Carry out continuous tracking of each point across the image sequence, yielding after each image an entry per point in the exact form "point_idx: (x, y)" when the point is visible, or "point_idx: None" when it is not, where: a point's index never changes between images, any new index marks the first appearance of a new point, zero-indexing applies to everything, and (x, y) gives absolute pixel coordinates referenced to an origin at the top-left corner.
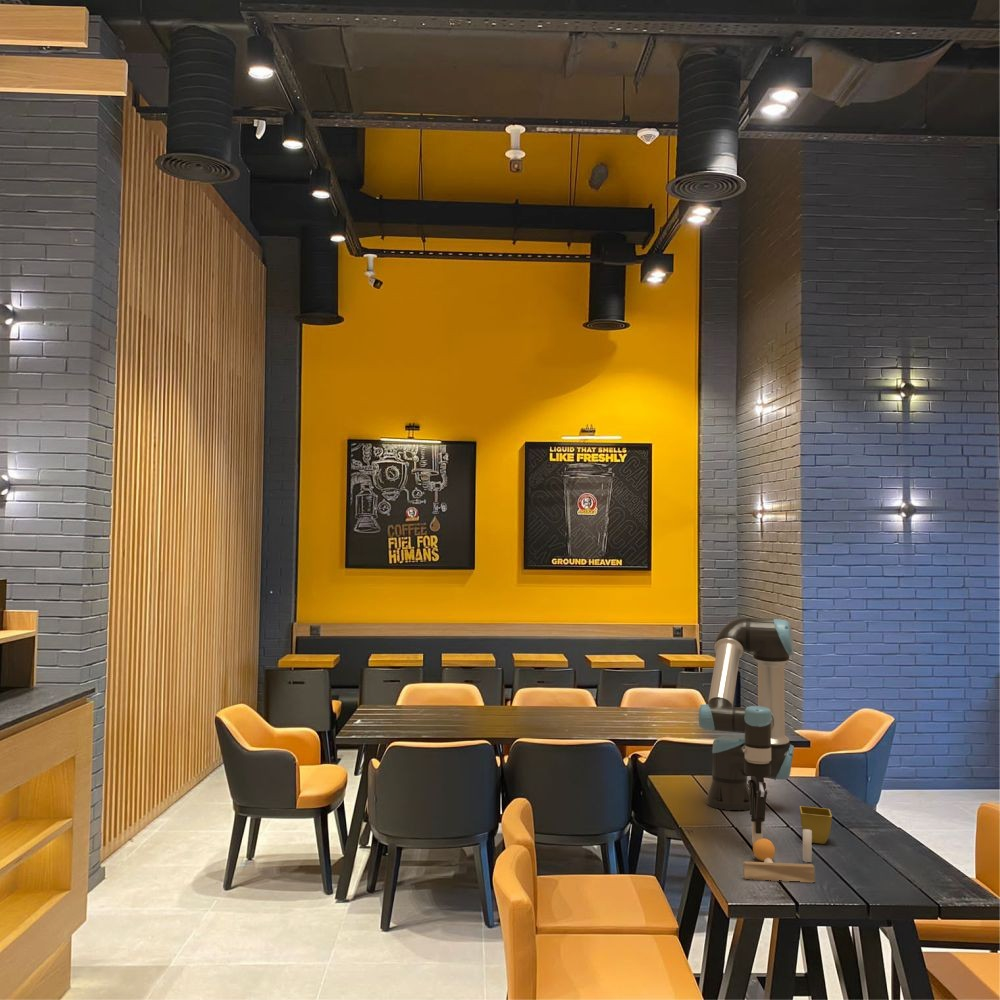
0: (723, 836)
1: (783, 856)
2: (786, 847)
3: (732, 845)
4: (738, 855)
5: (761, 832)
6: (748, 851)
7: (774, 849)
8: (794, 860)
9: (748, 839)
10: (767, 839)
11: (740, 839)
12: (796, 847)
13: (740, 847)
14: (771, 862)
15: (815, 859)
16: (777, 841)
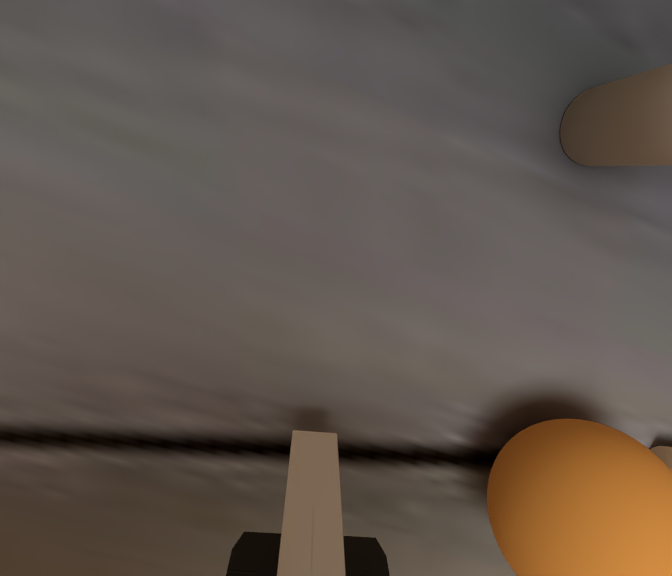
0: (6, 556)
1: (456, 284)
2: (219, 166)
3: (211, 549)
4: (416, 563)
5: (342, 527)
6: None
7: (667, 468)
8: (557, 231)
9: (40, 413)
10: (655, 571)
11: (55, 468)
12: (209, 60)
13: (251, 514)
14: None
15: (561, 15)
16: (44, 185)
